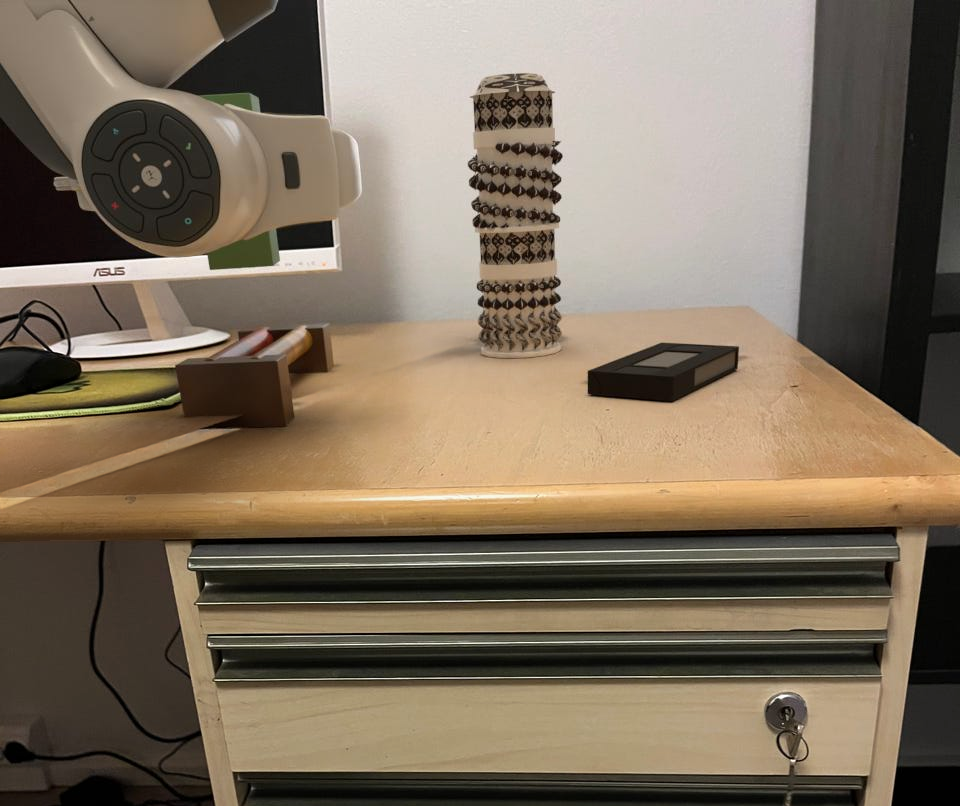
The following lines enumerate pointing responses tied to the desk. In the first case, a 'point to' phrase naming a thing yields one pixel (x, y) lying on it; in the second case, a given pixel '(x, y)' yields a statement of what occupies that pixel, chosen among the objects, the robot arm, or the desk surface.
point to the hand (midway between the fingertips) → (235, 175)
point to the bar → (260, 247)
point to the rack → (254, 375)
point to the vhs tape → (663, 371)
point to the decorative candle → (516, 215)
